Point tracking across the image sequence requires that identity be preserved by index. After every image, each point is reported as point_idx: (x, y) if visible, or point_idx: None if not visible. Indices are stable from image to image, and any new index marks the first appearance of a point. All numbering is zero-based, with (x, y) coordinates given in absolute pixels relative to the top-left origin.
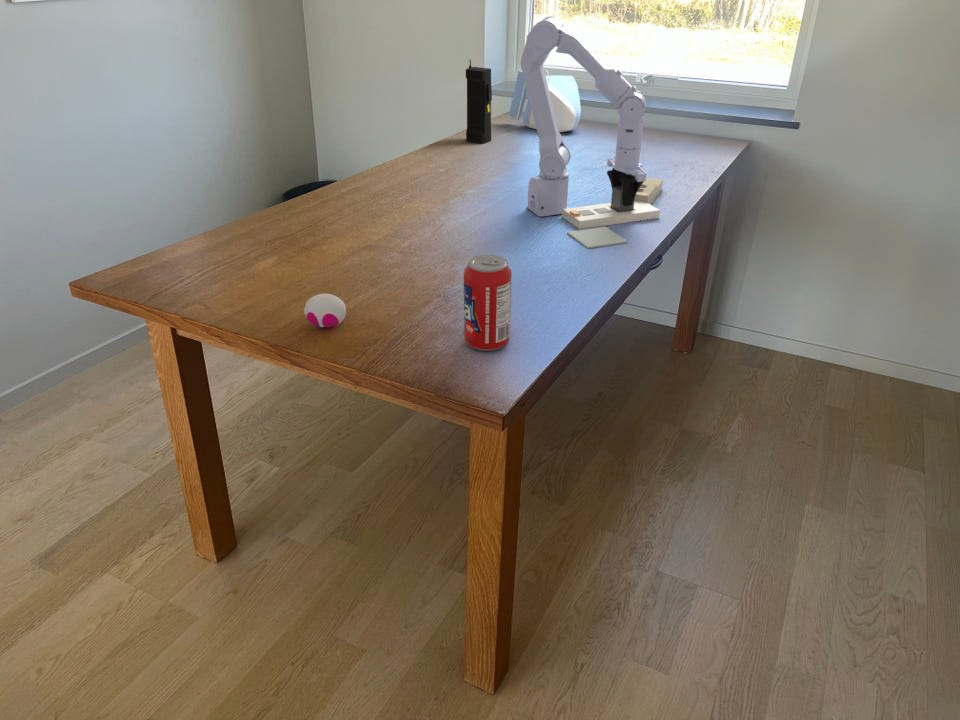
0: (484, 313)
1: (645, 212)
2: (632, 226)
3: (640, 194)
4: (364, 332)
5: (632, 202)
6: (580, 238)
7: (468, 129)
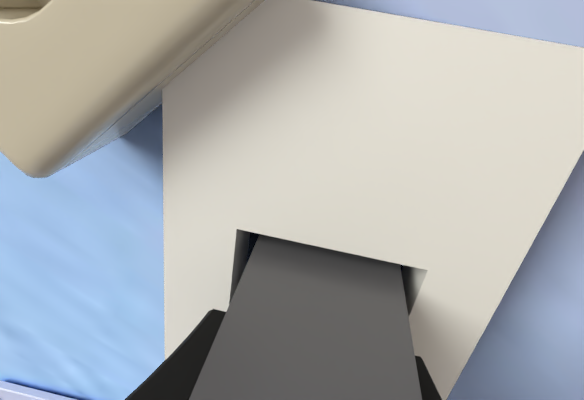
0: None
1: (531, 241)
2: (523, 349)
3: (178, 33)
4: None
5: (432, 384)
6: None
7: None
